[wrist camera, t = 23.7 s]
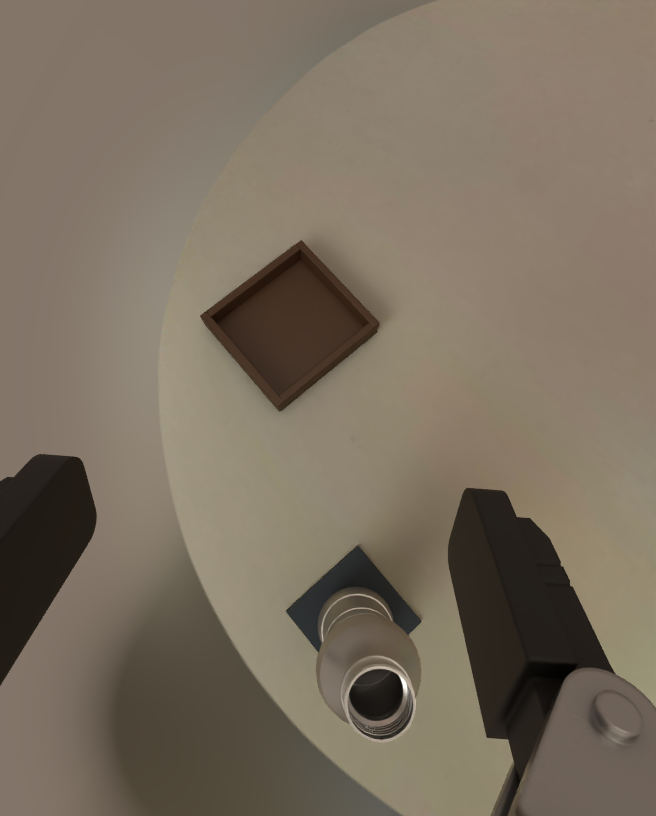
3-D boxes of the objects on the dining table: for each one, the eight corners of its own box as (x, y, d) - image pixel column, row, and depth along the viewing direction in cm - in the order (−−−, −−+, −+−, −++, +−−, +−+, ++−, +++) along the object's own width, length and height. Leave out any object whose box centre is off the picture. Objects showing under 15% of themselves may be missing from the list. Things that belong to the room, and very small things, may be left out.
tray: (279, 412, 48) (277, 406, 45) (205, 325, 50) (199, 315, 47) (377, 332, 50) (380, 323, 48) (302, 252, 52) (301, 239, 50)
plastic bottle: (390, 656, 42) (450, 775, 23) (317, 656, 42) (314, 776, 23) (388, 582, 44) (443, 635, 24) (317, 582, 44) (315, 635, 24)
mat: (349, 690, 42) (349, 692, 42) (286, 610, 43) (286, 611, 43) (421, 620, 44) (421, 621, 43) (357, 545, 45) (357, 545, 45)
